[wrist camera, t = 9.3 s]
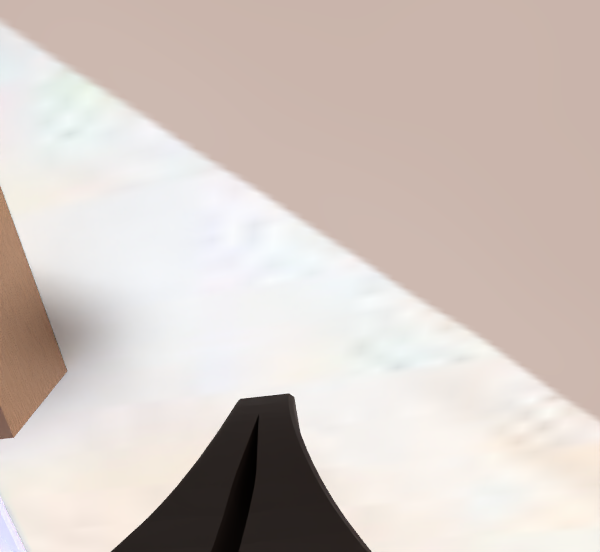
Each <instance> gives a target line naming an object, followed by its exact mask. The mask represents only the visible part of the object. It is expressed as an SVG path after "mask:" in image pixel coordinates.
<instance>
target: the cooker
mask: <svg viewBox="0 0 600 552" xmlns="http://www.w3.org/2000/svg"><path fill="white" fill-rule="evenodd" d="M66 372H67V369H66V366H65V364H64V361H63V358H62V355H61V353H60V350H59V347H58V344H57V342H56V339H55V336H54V333H53V331H52V328H51V325H50V322H49V320H48V317H47V314H46V311H45V308H44V306H43V303H42V300H41V297H40V295H39V292H38V289H37V286H36V284H35V281H34V278H33V275H32V273H31V270H30V267H29V264H28V262H27V259H26V256H25V253H24V250H23V248H22V245H21V242H20V239H19V237H18V234H17V231H16V228H15V226H14V223H13V220H12V217H11V215H10V212H9V209H8V206H7V204H6V201H5V198H4V195H3V192H2V190H1V187H0V439H5V438H14V437H15V435H16V434H17V433H18V432H19V430H20V429H21V428H22V427H23V425H24V424H25V423H26V422H27V421H28V419H29V418H30V417H31V416H32V414H33V413H34V412H35V411H36V409H37V408H38V407H39V406H40V404H41V403H42V402H43V401H44V399H45V398H46V397H47V396H48V394H49V393H50V392H51V391H52V389H53V388H54V387H55V386H56V385H57V383H58V382H59V381H60V380H61V378H62V377H63V376H64V375H65V373H66Z"/></svg>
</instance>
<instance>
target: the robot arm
mask: <svg viewBox="0 0 600 552" xmlns="http://www.w3.org/2000/svg"><path fill="white" fill-rule="evenodd" d="M0 552H26V550H25V547H24V545H23V543H22V541H21V539H20V537H19V535H18V533H17V530H16V528H15V526H14V524H13V522H12V520H11V518H10V516H9V513H8V511H7V509H6V507H5V505H4V503H3V501H2V499H1V497H0ZM111 552H371V550H370V549H369V548H368V547H367V546H366V544H365V543H364V542H363V540H362V539H361V538H360V536H359V535H358V534H357V533H356V531H355V530H354V529H353V527H352V526H351V525H350V523H349V522H348V521H347V519H346V518H345V517H344V515H343V514H342V512H341V511H340V509H339V508H338V506H337V505H336V503H335V502H334V500H333V498H332V497H331V495H330V493H329V492H328V490H327V489H326V487H325V485H324V483H323V481H322V480H321V478H320V476H319V474H318V472H317V470H316V468H315V466H314V464H313V462H312V460H311V458H310V456H309V453H308V451H307V449H306V446H305V444H304V441H303V439H302V436H301V433H300V429H299V423H298V417H297V411H296V405H295V399H294V397H293V396H292V395H290V394H281V395H272V396H262V397H253V398H244V399H240V400H239V401H238V402H237V403H236V405H235V407H234V408H233V410H232V411H231V413H230V414H229V416H228V417H227V419H226V420H225V422H224V424H223V425H222V427H221V428H220V430H219V431H218V432H217V434H216V435H215V437H214V438H213V440H212V441H211V443H210V444H209V445H208V447H207V448H206V450H205V451H204V452H203V454H202V455H201V457H200V458H199V459H198V461H197V462H196V463H195V464H194V466H193V467H192V468H191V469H190V471H189V472H188V473H187V474H186V476H185V477H184V478H183V479H182V481H181V482H180V483H179V484H178V486H177V487H176V488H175V489H174V490H173V491H172V493H171V494H170V495H169V496H168V497H167V498H166V499H165V500H164V502H163V503H162V504H161V505H160V506H159V507H158V508H157V509H156V510H155V511H154V512H153V513H152V514H151V515H150V516H149V517H148V518H147V519H146V520H145V521H144V522H143V523H142V524H141V525H140V526H139V527H138V528H137V529H135V530H134V531H133V532H132V533H131V534H130V535H129V536H128V537H127V538H126V539H124V540H123V541H122V542H121V543H120V544H119V545H118V546H117V547H116V548H115V549H113V550H112V551H111Z"/></svg>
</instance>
